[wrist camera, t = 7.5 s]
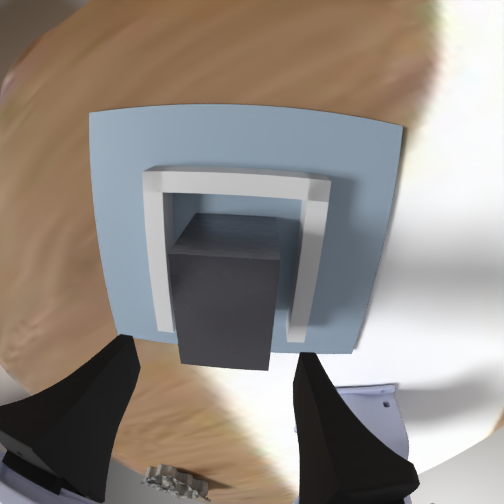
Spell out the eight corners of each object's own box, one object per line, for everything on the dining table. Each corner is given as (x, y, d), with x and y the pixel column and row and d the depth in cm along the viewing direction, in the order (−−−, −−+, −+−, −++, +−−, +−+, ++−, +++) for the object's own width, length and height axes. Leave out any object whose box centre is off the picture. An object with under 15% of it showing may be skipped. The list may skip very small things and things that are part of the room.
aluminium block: (275, 216, 18) (280, 260, 13) (267, 309, 21) (268, 370, 16) (195, 212, 19) (168, 253, 13) (199, 305, 22) (181, 363, 16)
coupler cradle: (399, 125, 16) (417, 127, 14) (350, 349, 24) (356, 370, 21) (93, 112, 16) (72, 114, 14) (120, 331, 24) (109, 350, 22)
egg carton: (216, 483, 39) (213, 502, 35) (187, 487, 41) (184, 504, 38) (168, 461, 36) (163, 482, 32) (141, 465, 38) (136, 484, 34)
